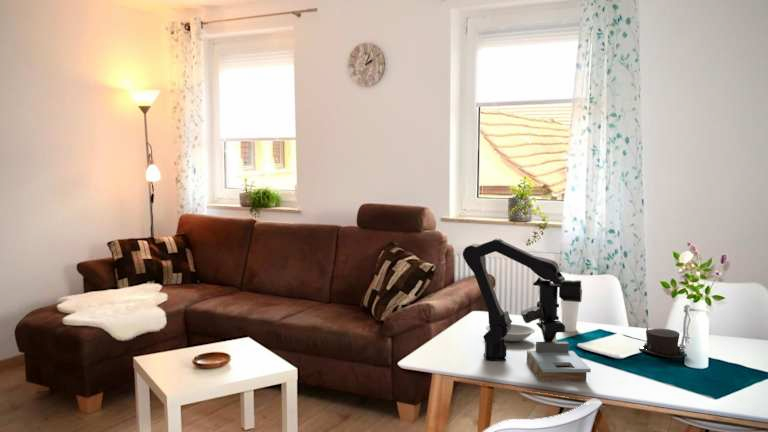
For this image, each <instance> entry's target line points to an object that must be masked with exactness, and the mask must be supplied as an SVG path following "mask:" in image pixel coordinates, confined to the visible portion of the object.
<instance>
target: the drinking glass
mask: <svg viewBox="0 0 768 432" xmlns="http://www.w3.org/2000/svg"><path fill="white" fill-rule="evenodd" d="M579 306H580V302H572V301H563V300H562V299H561V298H560V309H561V312H560V313H561V323H563V324H564V325H565V332H567V333H568V332H569V333H571V332H572V333H573V332H577V325H578V324H577V323H578V315H579V308H580V307H579Z"/></svg>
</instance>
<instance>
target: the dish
mask: <svg viewBox="0 0 768 432" xmlns="http://www.w3.org/2000/svg"><path fill="white" fill-rule="evenodd" d="M485 329H486V330H487V332H488V331H489V330H490V326H489V325H487V326H486V327H485ZM535 332H536V330H535V329H534V328H533V327H530V326H527V325H523V324H517V323H516V324H515V323H511V329H510V331H509V332H508V333H507V335H506V336H505V337H504V338H503V339H504V340H505V342H519V341H524V340H525V339H528V338H529V337H530V336H531V335H532V334H534V333H535Z"/></svg>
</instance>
